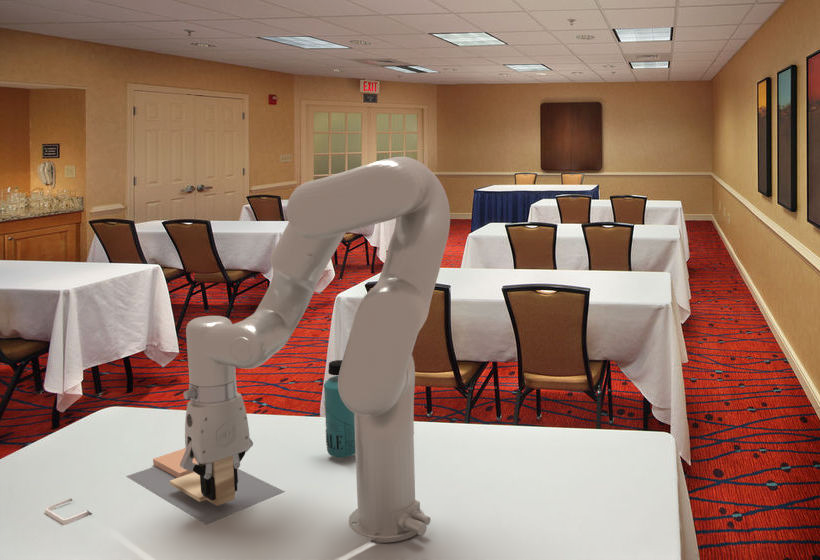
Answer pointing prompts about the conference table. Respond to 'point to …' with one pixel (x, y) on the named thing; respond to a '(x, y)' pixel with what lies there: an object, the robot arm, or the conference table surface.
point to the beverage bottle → (338, 417)
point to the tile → (173, 463)
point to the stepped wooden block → (222, 478)
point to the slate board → (205, 511)
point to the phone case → (67, 520)
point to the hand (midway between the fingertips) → (220, 492)
